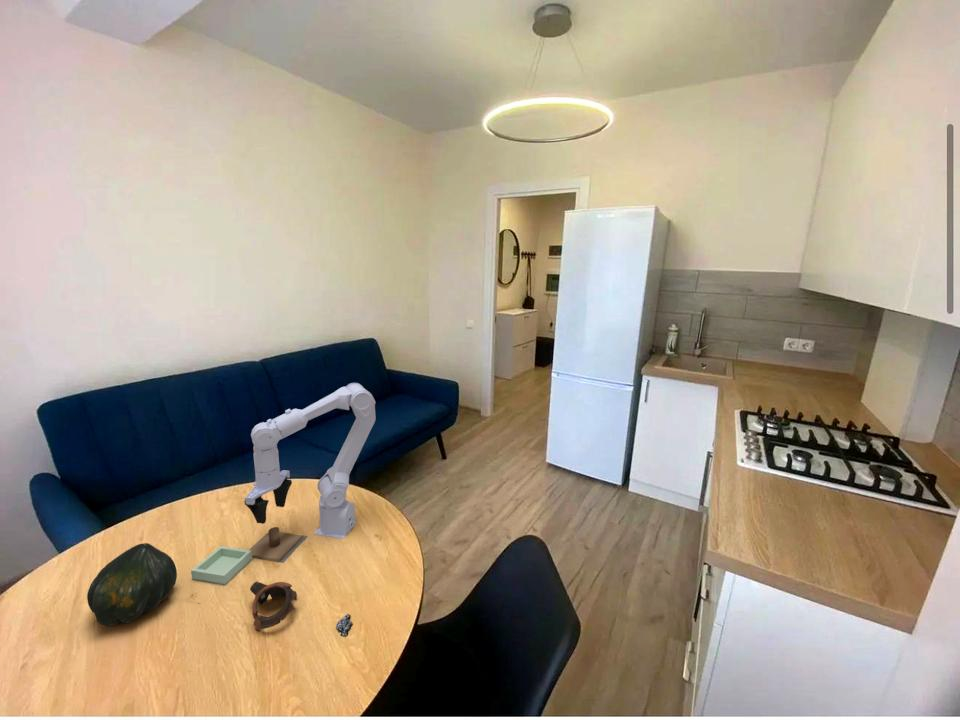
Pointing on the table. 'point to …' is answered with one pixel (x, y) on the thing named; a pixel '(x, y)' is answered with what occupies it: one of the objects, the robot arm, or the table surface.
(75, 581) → the table surface
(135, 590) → the squash
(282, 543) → the lid
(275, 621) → the pottery mug
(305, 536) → the mat
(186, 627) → the table surface
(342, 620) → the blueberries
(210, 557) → the dish
